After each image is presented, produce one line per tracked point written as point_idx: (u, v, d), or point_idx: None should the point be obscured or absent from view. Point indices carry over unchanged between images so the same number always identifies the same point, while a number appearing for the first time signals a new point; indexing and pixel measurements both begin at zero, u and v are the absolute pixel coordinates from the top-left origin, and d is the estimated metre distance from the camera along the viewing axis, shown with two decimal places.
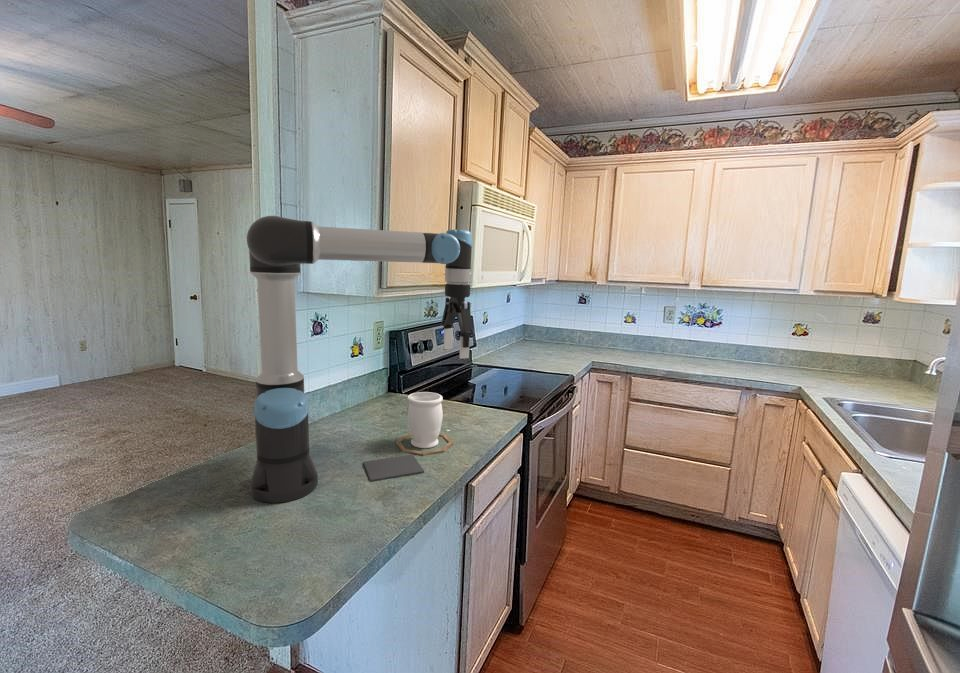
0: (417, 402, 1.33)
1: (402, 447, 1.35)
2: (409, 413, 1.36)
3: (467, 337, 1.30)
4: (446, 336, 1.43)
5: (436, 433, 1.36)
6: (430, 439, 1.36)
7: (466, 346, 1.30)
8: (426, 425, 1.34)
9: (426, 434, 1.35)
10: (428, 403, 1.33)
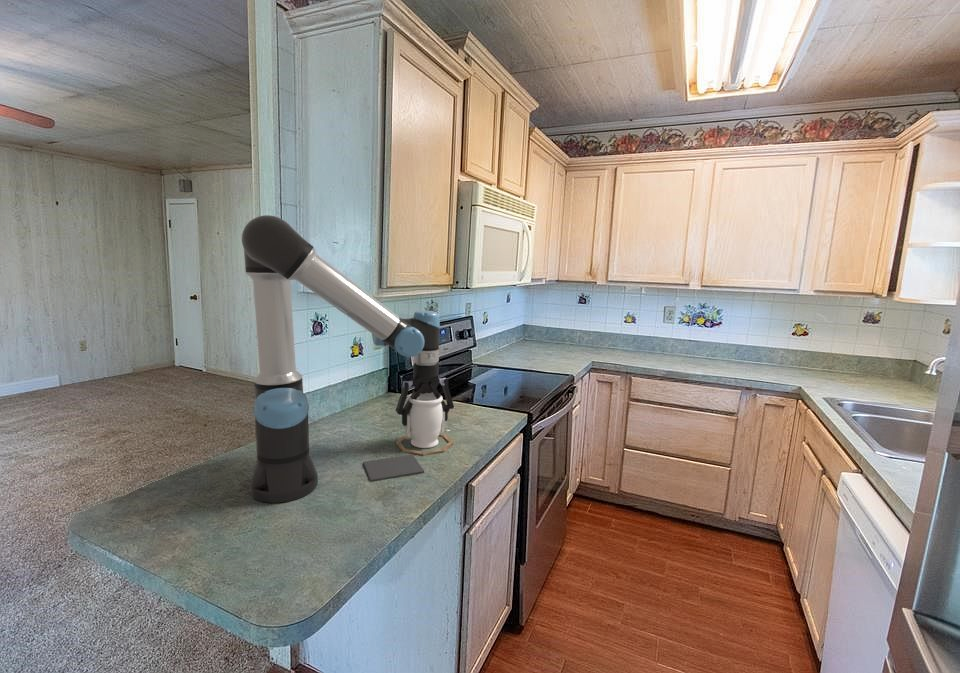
0: (417, 402, 1.33)
1: (402, 447, 1.35)
2: (409, 413, 1.36)
3: (402, 415, 1.35)
4: None
5: (436, 433, 1.36)
6: (430, 439, 1.36)
7: None
8: (426, 425, 1.34)
9: (427, 434, 1.35)
10: (428, 403, 1.33)
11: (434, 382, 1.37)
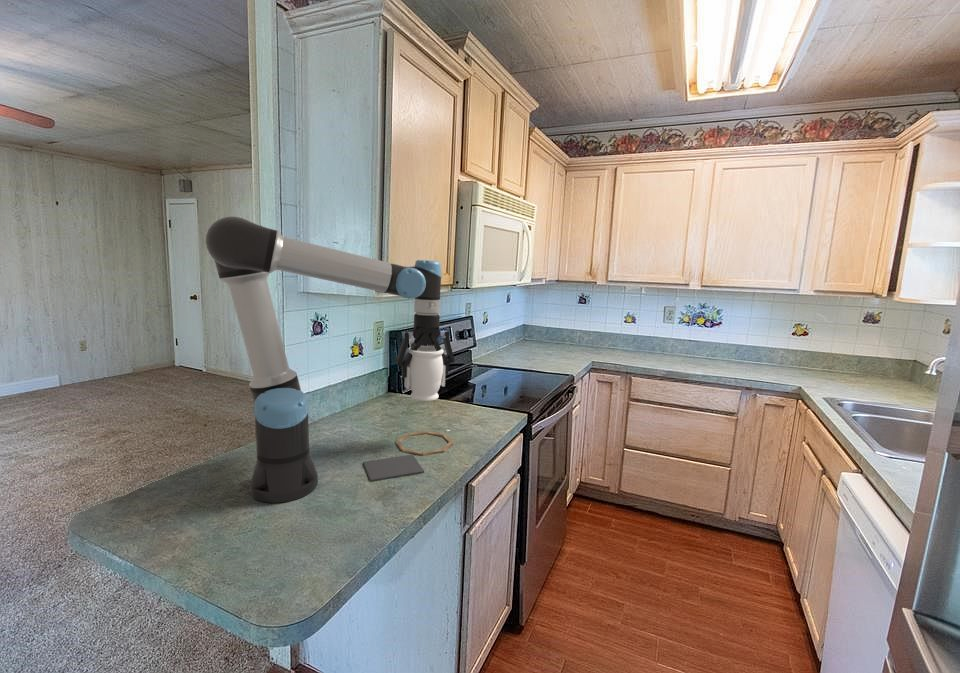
0: (417, 353, 1.30)
1: (402, 447, 1.35)
2: (409, 365, 1.33)
3: (402, 367, 1.33)
4: None
5: (436, 386, 1.34)
6: (430, 392, 1.33)
7: (402, 375, 1.33)
8: (426, 376, 1.31)
9: (427, 386, 1.32)
10: (429, 354, 1.30)
11: (435, 334, 1.34)
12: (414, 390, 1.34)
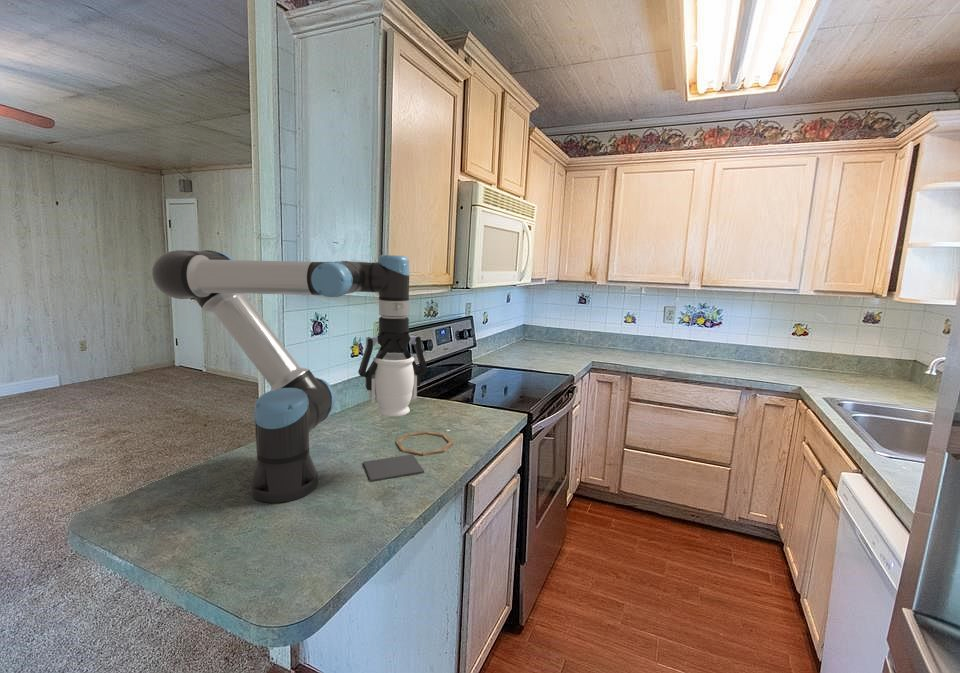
0: (383, 361, 1.13)
1: (402, 447, 1.35)
2: (374, 375, 1.16)
3: (366, 378, 1.16)
4: None
5: (406, 399, 1.17)
6: (399, 406, 1.16)
7: (366, 388, 1.16)
8: (394, 388, 1.14)
9: (394, 399, 1.15)
10: (396, 363, 1.13)
11: (404, 340, 1.17)
12: (380, 404, 1.17)
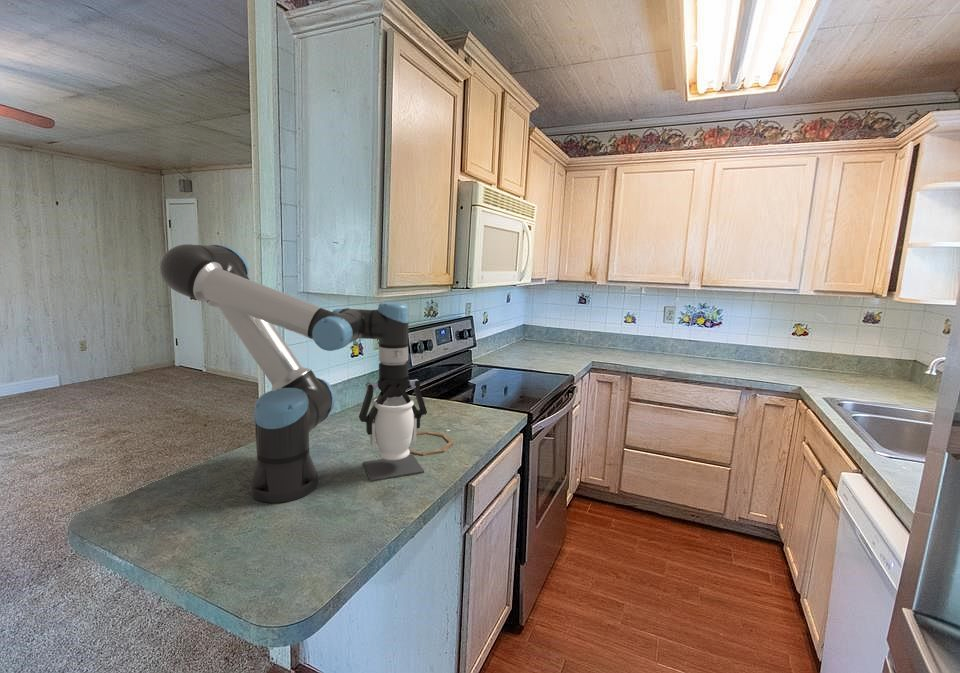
0: (383, 407, 1.15)
1: None
2: (375, 420, 1.18)
3: (366, 423, 1.18)
4: None
5: (406, 443, 1.19)
6: (399, 450, 1.18)
7: (367, 432, 1.18)
8: (394, 433, 1.16)
9: (394, 444, 1.17)
10: (395, 408, 1.15)
11: (403, 384, 1.19)
12: (381, 448, 1.19)
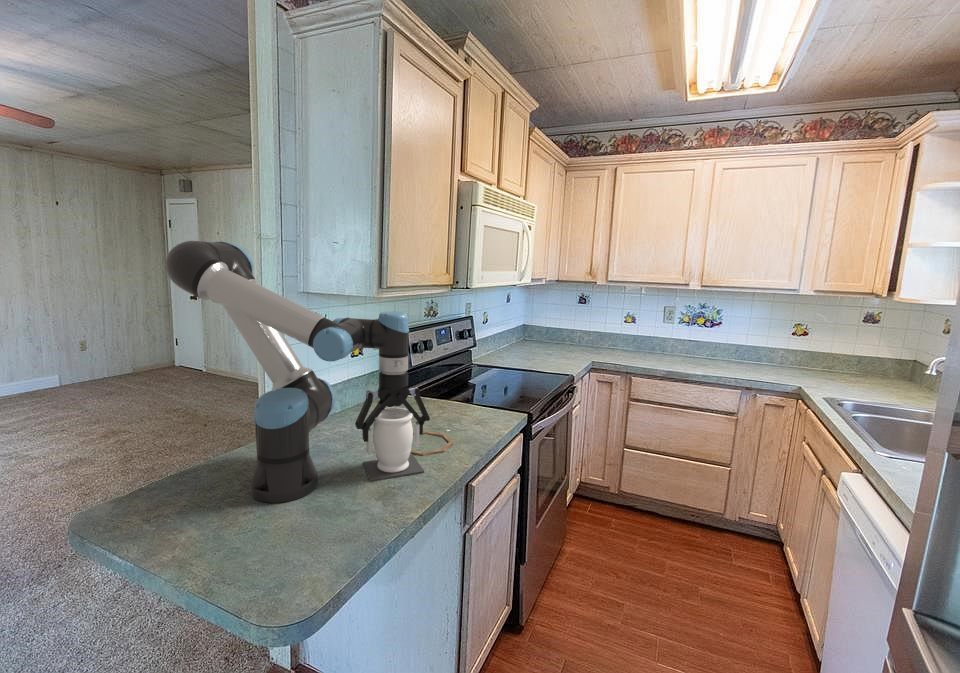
0: (382, 421, 1.16)
1: None
2: (374, 433, 1.18)
3: (362, 430, 1.18)
4: (414, 430, 1.25)
5: (405, 455, 1.19)
6: (398, 462, 1.19)
7: (363, 439, 1.18)
8: (393, 446, 1.17)
9: (394, 456, 1.18)
10: (395, 422, 1.15)
11: (403, 394, 1.19)
12: (380, 460, 1.19)
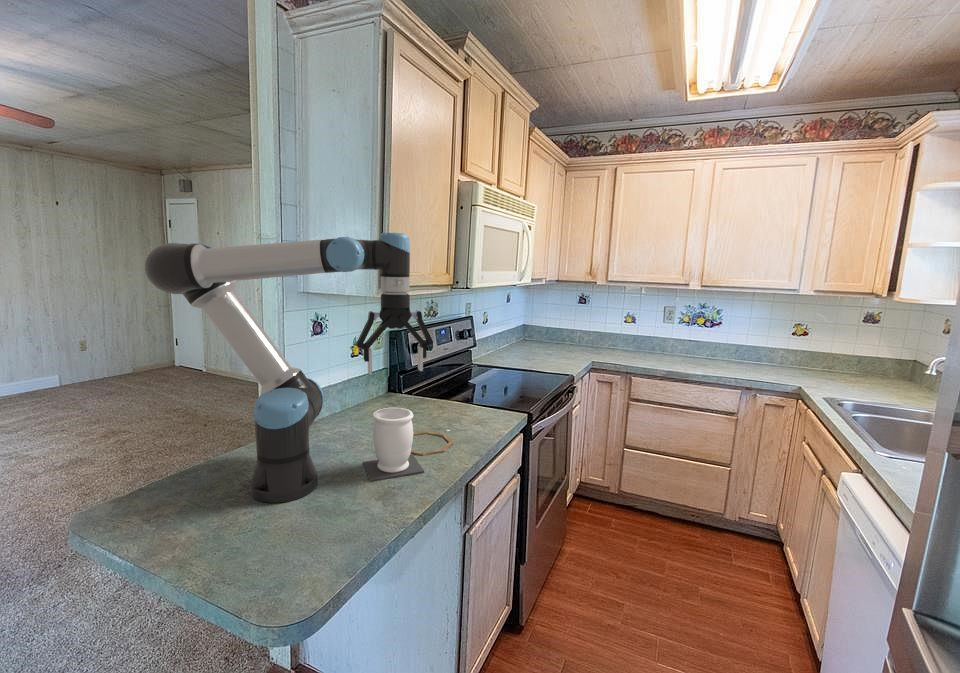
0: (382, 420, 1.16)
1: None
2: (374, 433, 1.19)
3: (363, 350, 1.19)
4: (418, 354, 1.25)
5: (405, 455, 1.19)
6: (398, 462, 1.19)
7: (364, 359, 1.19)
8: (393, 446, 1.17)
9: (394, 456, 1.18)
10: (395, 422, 1.16)
11: (405, 316, 1.20)
12: (380, 460, 1.19)
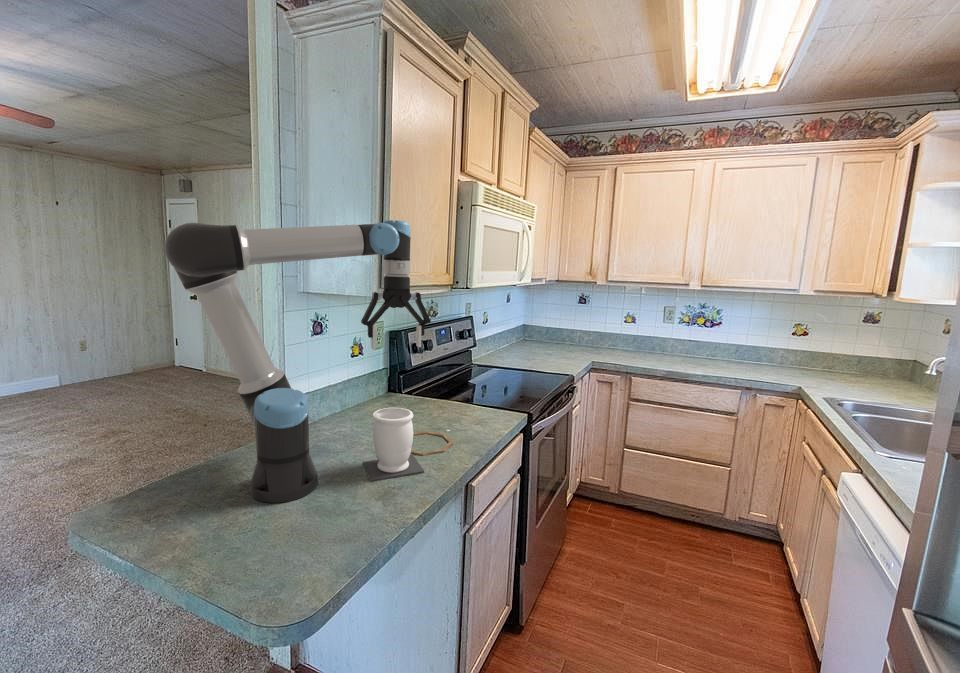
0: (383, 420, 1.16)
1: None
2: (374, 433, 1.19)
3: (368, 327, 1.30)
4: (416, 332, 1.38)
5: (405, 455, 1.19)
6: (398, 462, 1.19)
7: (368, 336, 1.31)
8: (393, 446, 1.17)
9: (394, 456, 1.18)
10: (395, 422, 1.16)
11: (405, 297, 1.33)
12: (380, 460, 1.19)
